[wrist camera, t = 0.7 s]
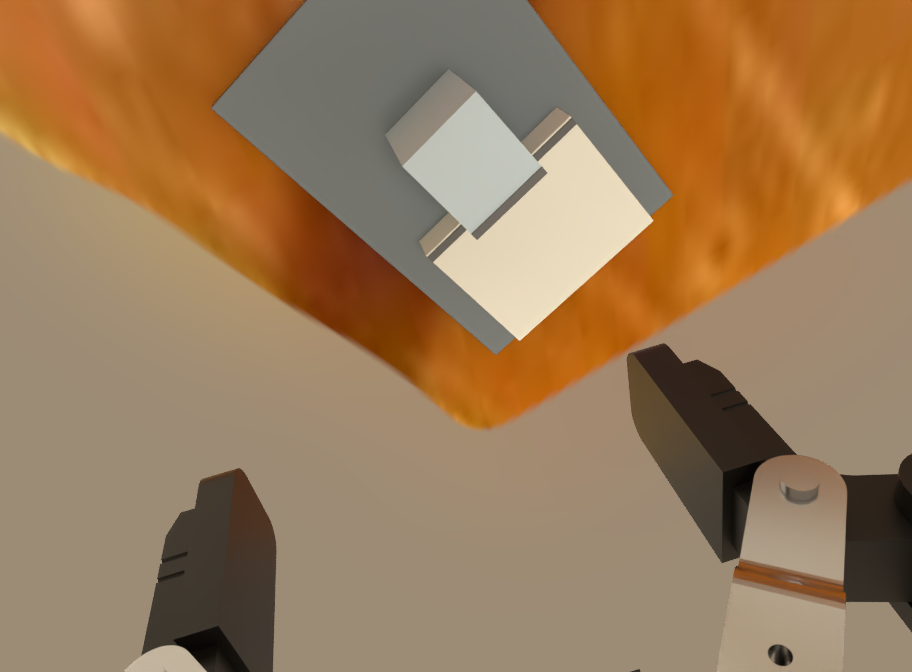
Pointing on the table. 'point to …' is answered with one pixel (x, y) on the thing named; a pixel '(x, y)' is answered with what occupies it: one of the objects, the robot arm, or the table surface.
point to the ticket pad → (401, 196)
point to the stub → (464, 154)
